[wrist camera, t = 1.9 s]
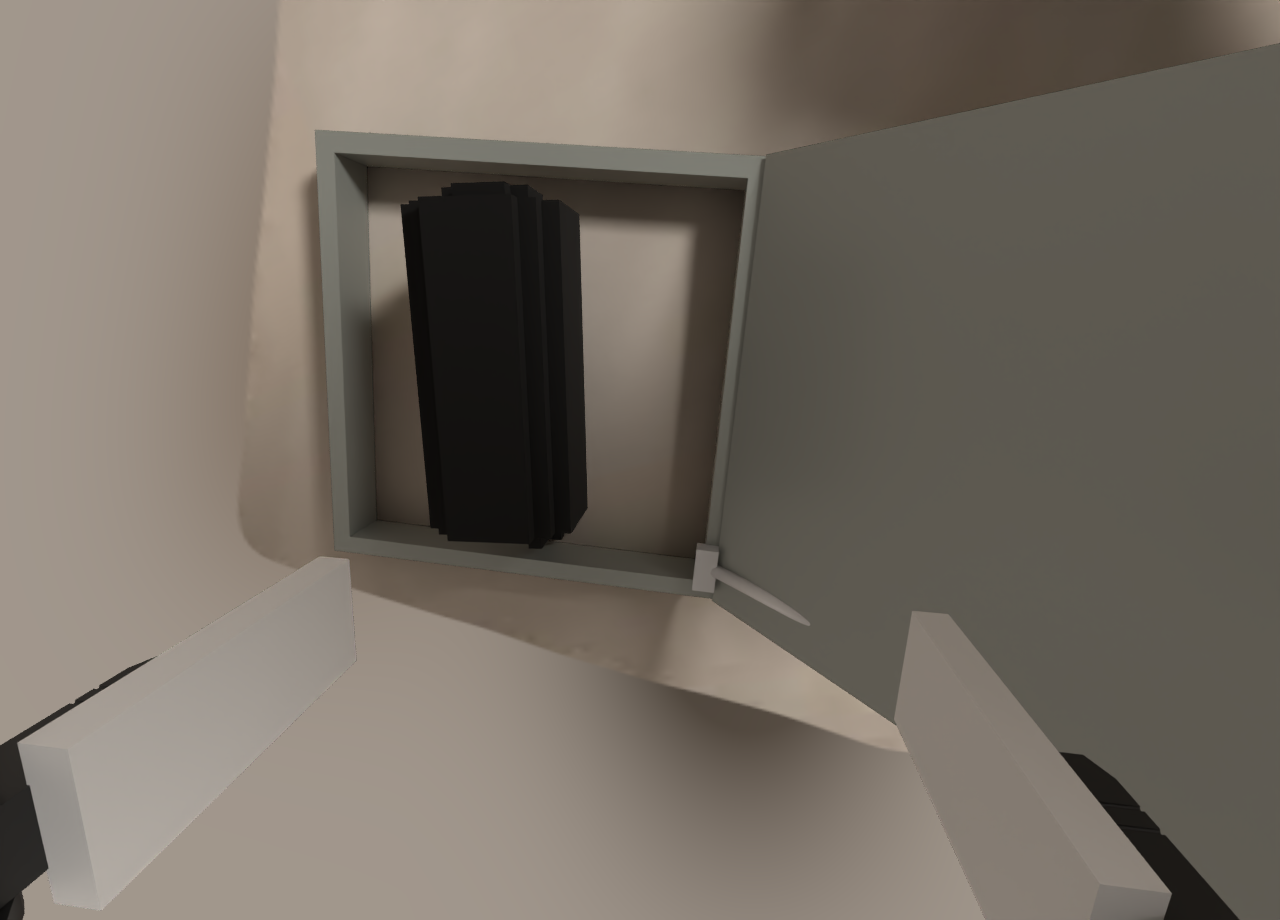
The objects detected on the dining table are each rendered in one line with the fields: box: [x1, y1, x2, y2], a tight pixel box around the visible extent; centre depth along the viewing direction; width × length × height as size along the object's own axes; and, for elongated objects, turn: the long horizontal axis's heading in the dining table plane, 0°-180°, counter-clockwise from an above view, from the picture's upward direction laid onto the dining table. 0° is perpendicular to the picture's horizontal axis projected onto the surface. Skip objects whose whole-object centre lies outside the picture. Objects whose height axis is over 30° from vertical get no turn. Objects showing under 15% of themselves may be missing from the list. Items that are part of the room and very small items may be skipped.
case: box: [315, 43, 1280, 920], centre depth 25 cm, size 23×38×21 cm, turn 85°
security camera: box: [401, 182, 588, 549], centre depth 31 cm, size 7×18×10 cm, turn 0°
